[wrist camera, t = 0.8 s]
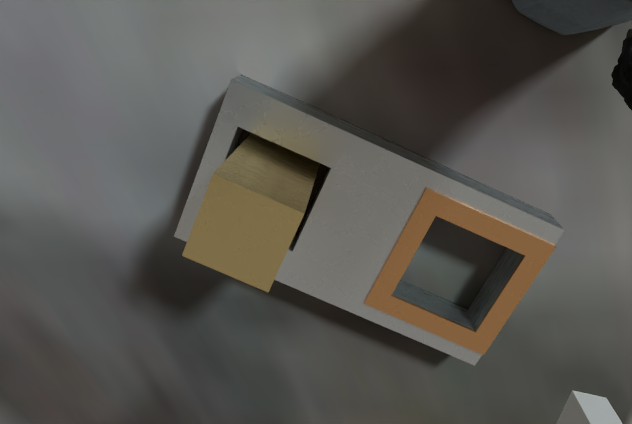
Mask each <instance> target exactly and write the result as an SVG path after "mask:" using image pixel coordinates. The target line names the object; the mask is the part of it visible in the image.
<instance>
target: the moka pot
mask: <svg viewBox="0 0 632 424" xmlns="http://www.w3.org/2000/svg"><path fill="white" fill-rule="evenodd" d="M511 1H512V2H513V4H514V6H515V8H516V10H517V11H518V12H519V13H521V14H523V15H524V16H526V17H527V18H529V19H531V20H533V21H535V22H536V23H538V24H540V25H542V26H544V27H546V28H548V29H550V30H552V31H555V32H556V33H558V34H560V35H566V36H567V35H570V34H578V33H583V32H588V31H593V30H598V29H602V28H605V27H609V26H613V25H617V24H621V23H624V22H628V21H630V20H632V0H511ZM611 76H612V78H613V82H612V85H613V87H614V88H615V89H617V90H618V92H619V93H620V95H621V96H622V97H623V98H624V101H625V103H626V104H627V105H628V107H629V108H630V109H631V110H632V29H629V31H628V32H627V37H626V39H625V40H624V41H623V47H622V53H621V55H620V57H619V59H618V65H616V66H615V67H614V70H613V72H612V75H611Z"/></svg>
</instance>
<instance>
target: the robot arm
mask: <svg viewBox="0 0 632 424" xmlns="http://www.w3.org/2000/svg"><path fill="white" fill-rule="evenodd" d="M557 424H622V422H621V421H620V419H619V417H618V416H617V414H616V413H615V411H614V409H613V408H612V406H611V405H610V403H609V401H608V400H607V398H605V397H600V396H595V395H591V394H586V393H582V392H577V391H573V390H572V392H571V394H570V396H569V398H568V400H567V403H566V405H565V407H564V409H563V411H562V413H561V415H560V417H559V419H558V422H557Z"/></svg>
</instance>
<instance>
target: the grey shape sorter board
mask: <svg viewBox="0 0 632 424" xmlns="http://www.w3.org/2000/svg"><path fill="white" fill-rule="evenodd" d="M243 129H244V130H247V131H249V132H251V133H253V134H256V135H258V136H260V137H262V138H265V139H267V140H269V141H271V142H274V143H276V144H278V145H280V146H283V147H285V148H287V149H289V150H292V151H294V152H296V153H298V154H301V155H303V156H305V157H307V158H310V159H312V160H314V161H316V162H319V163H321V164H323V165H325V166H327V167H329V168H328V171H327V173H326V175H325V177H324V179H323V181H322V184H321V186H320V188H319V190H318V192H317V194H316V197H315V199H314V201H313V203H312V205H311V207H310V210H309V212H308V214H307V216H306V218H305V220H304V223H303V225H302V227H301V229H300V231H299V233H298V235H296V234H295V236H294V238H293V240H292V242H291V244H290V246H289V249H288V251H287V253H286V255H285V257H284V260H283V262H282V264H281V266H280V268H279V270H278V273H277V275H276V277H275V279H274V280H276V281H279V282H281V283H283V284H286V285H288V286H290V287H293V288H295V289H297V290H300V291H302V292H304V293H307V294H309V295H311V296H314V297H316V298H318V299H321V300H323V301H325V302H328V303H330V304H332V305H335V306H337V307H339V308H342V309H344V310H346V311H349V312H351V313H353V314H356V315H358V316H360V317H363V318H365V319H367V320H370V321H372V322H374V323H377V324H379V325H381V326H384V327H386V328H388V329H391V330H393V331H395V332H398V333H400V334H402V335H405V336H407V337H409V338H412V339H414V340H416V341H419V342H421V343H423V344H426V345H428V346H430V347H433V348H435V349H437V350H440V351H442V352H444V353H447V354H449V355H451V356H454V357H456V358H458V359H461V360H463V361H465V362H468V363H470V364H472V365H474V366H475V365H476V363H477V362H478V360H479V359H480V357H481V356H482V355H484V354H485V352H486V351H487V349H488V348H489V346H490V345H491V343H492V342H493V340H494V339H495V337H496V336H497V335H498V333H499V332H500V330H501V329H502V327H503V326H504V324H505V323H506V321H507V320H508V318H509V317H510V315H511V314H512V312H513V311H514V309H515V308H516V306H517V305H518V303H519V302H520V300H521V299H522V297H523V296H524V294H525V293H526V291H527V290H528V288H529V287H530V285H531V284H532V282H533V281H534V279H535V278H536V276H537V275H538V273H539V272H540V270H541V269H542V267H543V266H544V264H545V263H546V261H547V260H548V258H549V257H550V255H551V254H552V252H553V251H554V249H555V248H556V246H555V245H556V243H557V242H558V240H559V239H560V237H561V236H562V234H563V233H564V231H565V230H564V229H563V228H562V226H561V225H560V224H559V223H558V222H557V221H556V220H555V219H554V218H553V216H552V215H551V214H549V213H546V212H544V211H542V210H540V209H538V208H535V207H533V206H531V205H529V204H526V203H524V202H522V201H520V200H518V199H515V198H513V197H511V196H509V195H507V194H504V193H502V192H500V191H498V190H496V189H493V188H491V187H489V186H487V185H484V184H482V183H480V182H478V181H476V180H473V179H471V178H469V177H467V176H465V175H462V174H460V173H458V172H456V171H453V170H451V169H449V168H447V167H445V166H442V165H440V164H438V163H436V162H434V161H431V160H429V159H427V158H425V157H423V156H420V155H418V154H416V153H414V152H411V151H409V150H407V149H405V148H403V147H400V146H398V145H396V144H394V143H392V142H389V141H387V140H385V139H383V138H381V137H378V136H376V135H374V134H372V133H369V132H367V131H365V130H363V129H361V128H358V127H356V126H354V125H352V124H350V123H347V122H345V121H343V120H341V119H339V118H336V117H334V116H332V115H330V114H327V113H325V112H323V111H321V110H319V109H316V108H314V107H312V106H310V105H308V104H305V103H303V102H301V101H299V100H297V99H294V98H292V97H290V96H288V95H285V94H283V93H281V92H279V91H277V90H274V89H272V88H270V87H268V86H266V85H263V84H261V83H259V82H257V81H255V80H252V79H250V78H248V77H246V76H243V75H240V76H238V77H236V78H234V79H232V80H231V82H230V84H229V87H228V90H227V92H226V95H225V98H224V101H223V103H222V106H221V109H220V112H219V114H218V117H217V120H216V123H215V125H214V128H213V131H212V134H211V136H210V139H209V142H208V144H207V147H206V150H205V153H204V155H203V158H202V161H201V164H200V166H199V169H198V172H197V175H196V177H195V180H194V183H193V186H192V188H191V191H190V194H189V197H188V199H187V202H186V205H185V207H184V210H183V213H182V216H181V218H180V221H179V224H178V227H177V229H176V232H175V235H174V237H176V238H178V239H181V240H183V241H185V242H187V241H188V238H189V236H190V233H191V230H192V228H193V225H194V222H195V220H196V217H197V214H198V212H199V209H200V206H201V204H202V201H203V198H204V196H205V193H206V190H207V188H208V185H209V183H210V180H211V177H212V175H213V173H214V172H215V171H216V170H217V169H218V168H219V167H220V166H221V165H222V163H223V162H224V161H225V160H226V159H227V158H228V157H229V156H230V155H231V154H232V153H233V152H234V151H235V148H236V146H237V143H238V141H239V138H240V135H241V133H242V130H243ZM436 216H437V217H440V218H442V219H444V220H446V221H448V222H451V223H453V224H455V225H457V226H460V227H462V228H464V229H466V230H469V231H471V232H473V233H475V234H478V235H480V236H482V237H484V238H487V239H489V240H491V241H493V242H496V243H498V244H500V245H502V246H505V247H507V248H506V250H505V251H504V253H503V255H502V256H501V258H500V259H499V261H498V263H497V264H496V266H495V267H494V269H493V270H492V272H491V274H490V275H489V277H488V278H487V280H486V282H485V283H484V285H483V286H482V288H481V289H480V291H479V293H478V294H477V296H476V297H475V299H474V301H473V302H472V304H471V305H470V307H469V309H466V308H464V307H462V306H459V305H457V304H455V303H452V302H450V301H448V300H445V299H443V298H441V297H439V296H436V295H434V294H432V293H429V292H427V291H425V290H422V289H420V288H418V287H416V286H413V285H411V284H409V283H406V282H404V281H402V280H400V279H401V277H402V276H403V274H404V272H405V270H406V268H407V267H408V265H409V263H410V261H411V259H412V258H413V256H414V254H415V252H416V251H417V249H418V247H419V245H420V243H421V242H422V240H423V238H424V236H425V235H426V233H427V231H428V229H429V227H430V226H431V224H432V222H433V220H434V218H435V217H436Z"/></svg>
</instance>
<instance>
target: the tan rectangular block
mask: <svg viewBox="0 0 632 424" xmlns="http://www.w3.org/2000/svg"><path fill="white" fill-rule="evenodd" d="M319 165H320V163H319V162H316V161H314V160H312V159H310V158H307V157H305V156H303V155H301V154H298V153H296V152H294V151H292V150H289V149H287V148H285V147H283V146H280V145H278V144H276V143H274V142H271V141H269V140H267V139H265V138H262V137H260V136H258V135H256V134H253V133H251V134H250V135H249V136H248V137H247V138H246V139H245V140H244V141H243V142H242V144H241V145H240V146H239V147H238V148H237V149H236V150H235V151H234V152H233V153H232V154H231V155H230V156H229V157H228V158H227V159H226V160H225V161H224V162H223V163H222V165H221V166H220V167H219V168H218V169H217V170H216V171H215V172H214V173H213V175H212V177H211V180H210V183H209V185H208V188H207V190H206V193H205V196H204V198H203V201H202V204H201V206H200V209H199V212H198V214H197V217H196V220H195V222H194V225H193V228H192V230H191V233H190V236H189V238H188V241H187V243H186V246H185V249H184V251H183V254H182V256H184V257H186V258H188V259H191V260H193V261H195V262H198V263H200V264H202V265H205V266H207V267H209V268H212V269H214V270H216V271H219V272H221V273H223V274H226V275H228V276H231V277H233V278H235V279H238V280H240V281H242V282H245V283H247V284H249V285H252V286H254V287H256V288H259V289H261V290H263V291H266V292H269V290H270V288H271V286H272V283H273V281H274V279H275V277H276V275H277V273H278V270H279V268H280V266H281V264H282V262H283V260H284V257H285V255H286V253H287V251H288V249H289V246H290V244H291V242H292V240H293V238H294V236H295V233H296V231H297V229H298V227H299V225H300V222H301V220H302V218H303V216H304V214H305V211H306V207H307V204H308V201H309V198H310V194H311V191H312V188H313V185H314V181H315V178H316V175H317V172H318V169H319Z"/></svg>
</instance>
